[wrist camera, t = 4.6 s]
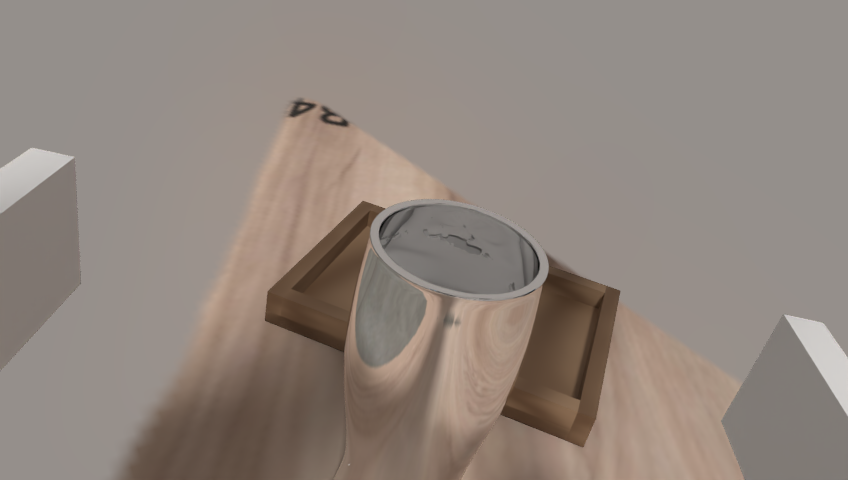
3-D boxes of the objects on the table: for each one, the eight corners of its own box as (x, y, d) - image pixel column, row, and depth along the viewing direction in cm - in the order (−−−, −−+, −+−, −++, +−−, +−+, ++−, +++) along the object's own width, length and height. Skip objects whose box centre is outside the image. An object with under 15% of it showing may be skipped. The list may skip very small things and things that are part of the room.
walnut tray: (610, 315, 50) (620, 290, 49) (583, 447, 39) (595, 418, 38) (358, 225, 54) (363, 200, 53) (264, 320, 43) (267, 291, 41)
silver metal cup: (416, 438, 37) (483, 188, 29) (491, 547, 32) (595, 283, 24) (292, 478, 33) (331, 205, 26) (356, 608, 28) (428, 320, 21)
